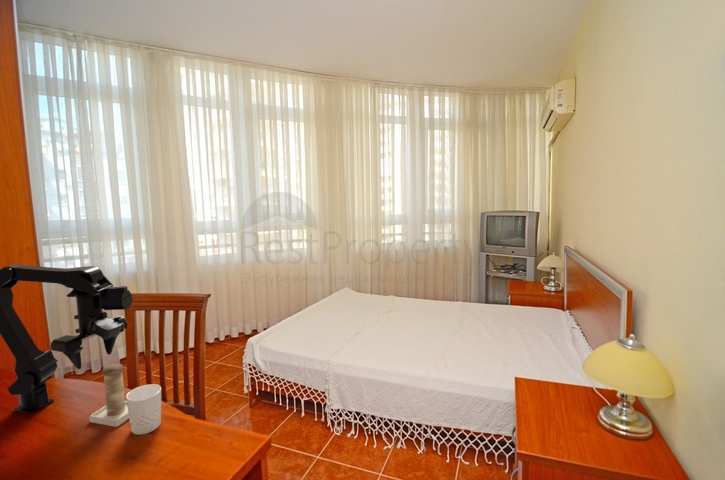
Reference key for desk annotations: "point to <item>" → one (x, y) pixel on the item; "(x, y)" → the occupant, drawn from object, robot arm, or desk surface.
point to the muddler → (114, 389)
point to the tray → (109, 417)
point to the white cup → (144, 408)
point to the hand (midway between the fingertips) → (94, 361)
